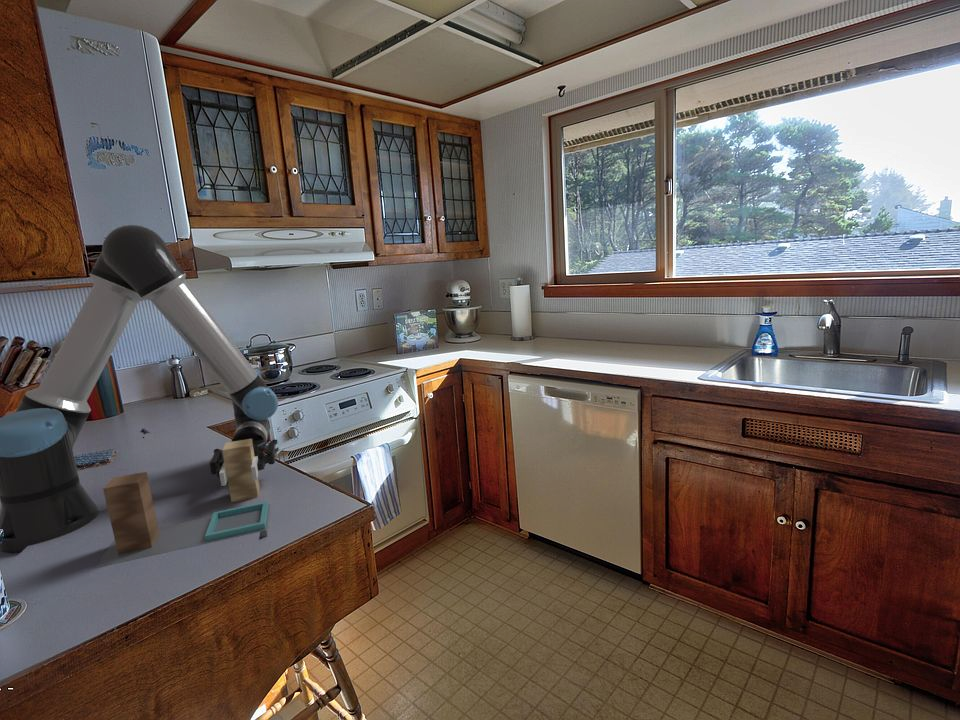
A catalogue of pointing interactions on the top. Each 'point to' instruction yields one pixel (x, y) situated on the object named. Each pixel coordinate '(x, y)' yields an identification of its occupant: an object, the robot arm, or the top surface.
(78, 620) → the top surface
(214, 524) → the build plate
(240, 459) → the oak pillar
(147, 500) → the walnut pillar
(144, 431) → the chef's knife
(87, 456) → the woven mat
